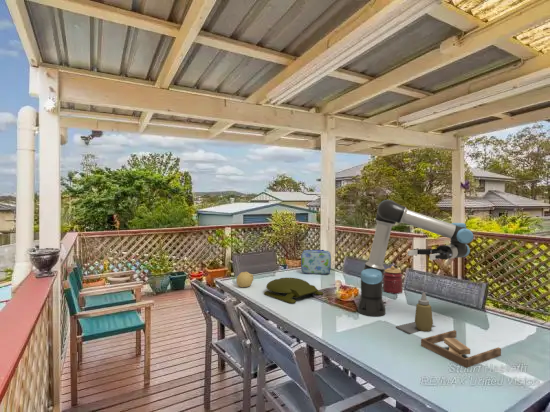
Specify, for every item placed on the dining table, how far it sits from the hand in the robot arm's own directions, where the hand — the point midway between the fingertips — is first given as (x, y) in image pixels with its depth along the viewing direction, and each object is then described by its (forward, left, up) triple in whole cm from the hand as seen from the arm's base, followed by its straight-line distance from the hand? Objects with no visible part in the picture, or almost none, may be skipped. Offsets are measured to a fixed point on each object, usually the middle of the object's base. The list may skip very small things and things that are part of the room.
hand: (418, 255), depth 166 cm
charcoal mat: (-1, -12, -35) cm, 37 cm away
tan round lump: (-108, +54, -35) cm, 126 cm away
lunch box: (-57, +104, -35) cm, 124 cm away
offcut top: (+5, -36, -32) cm, 48 cm away
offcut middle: (+5, -35, -34) cm, 49 cm away
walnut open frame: (+8, -33, -35) cm, 49 cm away
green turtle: (-72, +41, -36) cm, 90 cm away
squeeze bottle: (-1, -12, -34) cm, 36 cm away
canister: (-2, +57, -35) cm, 67 cm away
